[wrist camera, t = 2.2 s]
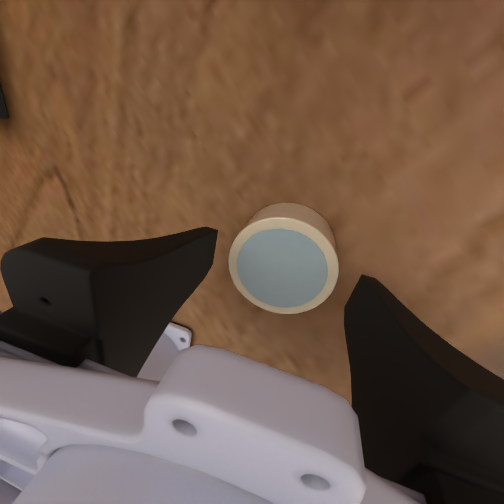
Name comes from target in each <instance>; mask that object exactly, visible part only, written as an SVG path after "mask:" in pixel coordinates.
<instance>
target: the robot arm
mask: <svg viewBox="0 0 504 504" xmlns="http://www.w3.org/2000/svg"><path fill="white" fill-rule="evenodd" d="M217 233H218V230H216V229H213V228H209V227H201V228H197V229H193V230H189V231H185V232H181V233H177V234H172V235H168V236H163V237H158V238H152V239H144V240H135V241H115V242H95V241H75V240H65V239H54V238H45V237H44V238H40V239H37V240H35V241H32V242H30V243H27V244H24V245H22V246H19V247H17V248H14V249H11V250H9V251H8V252H6V253H5V254H4V256H3V257H2V259H1V273H2V277H3V280H4V282H5V285H6V288H7V290H8V293H9V296H10V299H11V301H12V304H13V306H14V307H12V308H10V309H9V310H7V311H5V312H3V313H2V312H1V311H0V504H504V380H503V379H502V378H500V377H498V376H497V375H495V374H493V373H492V372H490V371H489V370H487V369H485V368H484V367H482V366H481V365H479V364H478V363H476V362H475V361H473V360H472V359H470V358H469V357H467V356H466V355H464V354H463V353H461V352H460V351H459V350H457V349H456V348H454V347H453V346H452V345H450V344H449V343H448V342H446V341H445V340H444V339H442V338H441V337H440V336H439V335H437V334H436V333H435V332H433V331H432V330H431V329H430V328H429V327H427V326H426V325H425V324H424V323H423V322H422V321H420V320H419V319H418V318H417V317H416V316H415V315H414V314H413V313H412V312H410V311H409V310H408V309H407V308H406V307H405V306H404V305H403V304H402V303H401V302H400V301H399V300H398V299H397V298H396V297H395V296H394V295H393V294H392V293H391V292H390V291H389V290H388V289H387V288H386V287H385V286H384V285H383V284H381V283H380V282H379V281H378V280H377V279H375V278H372V277H369V276H366V275H361V277H360V279H359V281H358V283H357V285H356V286H355V288H354V290H353V292H352V294H351V296H350V298H349V300H348V301H347V303H346V305H345V309H344V327H345V335H346V342H347V349H348V356H349V363H350V371H351V389H352V407H351V406H350V404H349V402H348V401H347V400H346V399H345V398H343V397H342V396H340V395H338V394H337V393H335V392H333V391H332V390H330V389H328V388H326V387H325V386H323V385H321V384H318V383H315V382H312V381H310V380H307V379H304V378H302V377H299V376H296V375H293V374H291V373H288V372H285V371H282V370H280V369H277V368H274V367H272V366H269V365H266V364H263V363H261V362H258V361H255V360H253V359H250V358H247V357H244V356H242V355H239V354H236V353H234V352H231V351H228V350H225V349H223V348H219V347H213V346H207V345H201V344H200V345H194V346H191V347H190V343H191V331H190V330H189V329H187V328H185V327H182V326H179V325H177V324H174V323H171V322H170V321H171V320H172V318H173V317H174V315H175V314H176V312H177V311H178V310H179V308H180V307H181V306H182V305H183V304H184V302H185V301H186V300H187V299H188V298H189V296H190V295H191V294H192V293H193V292H194V290H195V289H196V288H197V287H198V285H199V284H200V283H201V282H202V281H203V279H204V278H205V276H206V275H207V273H208V271H209V270H210V268H211V266H212V265H213V259H214V253H215V246H216V240H217Z"/></svg>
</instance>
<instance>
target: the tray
mask: <svg viewBox="0 0 504 504" xmlns="http://www.w3.org/2000/svg"><path fill="white" fill-rule="evenodd" d="M0 118H1V119H8V114H7V110H6V106H5V102H4V98H3V94H2V90H1V86H0Z"/></svg>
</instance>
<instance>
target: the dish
mask: <svg viewBox="0 0 504 504" xmlns="http://www.w3.org/2000/svg"><path fill="white" fill-rule="evenodd" d="M228 266H229V271H230V275H231V278H232V280H233V282H234V284H235V286H236V287H237V289H238V290H239V291H240V293H241V294H242V295H243V296H244V297H245V298H246V299H248V300H249V301H250V302H252V303H253V304H255V305H256V306H258V307H260V308H262V309H265V310H267V311H271V312H275V313H281V314H295V313H301V312H305V311H308V310H310V309H313V308H315V307H317V306H318V305H320V304H321V303H322V302H324V301H325V300H326V299H327V298H328V297H329V295H330V294H331V293H332V291H333V289H334V288H335V285H336V283H337V280H338V275H339V264H338V257H337V250H336V243H335V238H334V234H333V232H332V230H331V228H330V226H329V225H328V223H327V222H326V221H325V219H324V218H323V217H322V216H321V215H319V214H318V213H317V212H315V211H314V210H312V209H310V208H308V207H306V206H303V205H300V204H296V203H277V204H273V205H270V206H267V207H265V208H263V209H261V210H260V211H258V212H257V213H256V214H255V215H253V216H252V218H251V219H250V220H249V221H248V222H247V224H246V225H245V226H244V227H243V229H242V230H241V231H240V233H239V234H238V235H237V236H236V238H235V240H234V241H233V243H232V245H231V248H230V252H229V258H228Z"/></svg>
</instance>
